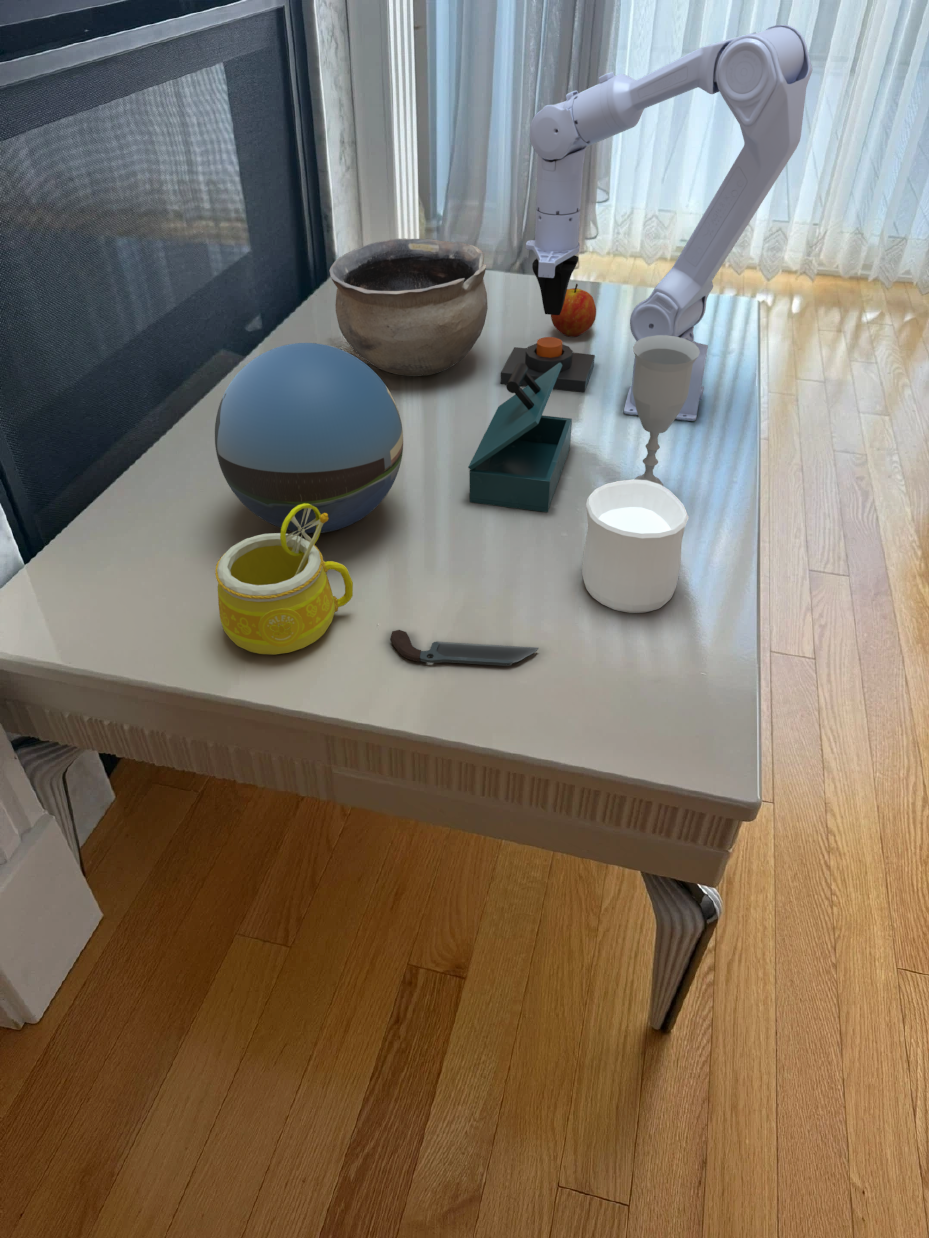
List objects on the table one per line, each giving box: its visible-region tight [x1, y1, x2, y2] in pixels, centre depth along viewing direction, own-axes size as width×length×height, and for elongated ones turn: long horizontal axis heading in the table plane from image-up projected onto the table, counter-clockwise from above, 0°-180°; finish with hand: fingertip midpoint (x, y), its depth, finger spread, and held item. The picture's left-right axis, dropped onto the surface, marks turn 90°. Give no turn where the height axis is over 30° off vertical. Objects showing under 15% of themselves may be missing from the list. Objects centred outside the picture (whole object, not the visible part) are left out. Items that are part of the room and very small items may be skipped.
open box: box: [468, 414, 573, 513], centre depth 107 cm, size 9×15×4 cm, turn 165°
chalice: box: [632, 335, 700, 487], centre depth 98 cm, size 7×7×18 cm
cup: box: [581, 478, 690, 614], centre depth 89 cm, size 10×10×10 cm
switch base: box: [500, 342, 596, 393], centre depth 129 cm, size 12×9×4 cm
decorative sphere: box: [214, 342, 404, 534], centre depth 95 cm, size 20×20×20 cm
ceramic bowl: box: [329, 237, 488, 377], centre depth 128 cm, size 22×22×15 cm
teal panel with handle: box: [467, 363, 562, 471], centre depth 103 cm, size 10×15×4 cm
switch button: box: [536, 336, 563, 358], centre depth 127 cm, size 4×4×2 cm
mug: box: [214, 503, 354, 655], centre depth 84 cm, size 13×11×12 cm
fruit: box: [550, 283, 597, 338], centre depth 138 cm, size 7×7×8 cm
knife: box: [389, 629, 540, 667], centre depth 84 cm, size 14×4×1 cm, turn 84°
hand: (553, 313), depth 124 cm, fingers closed
